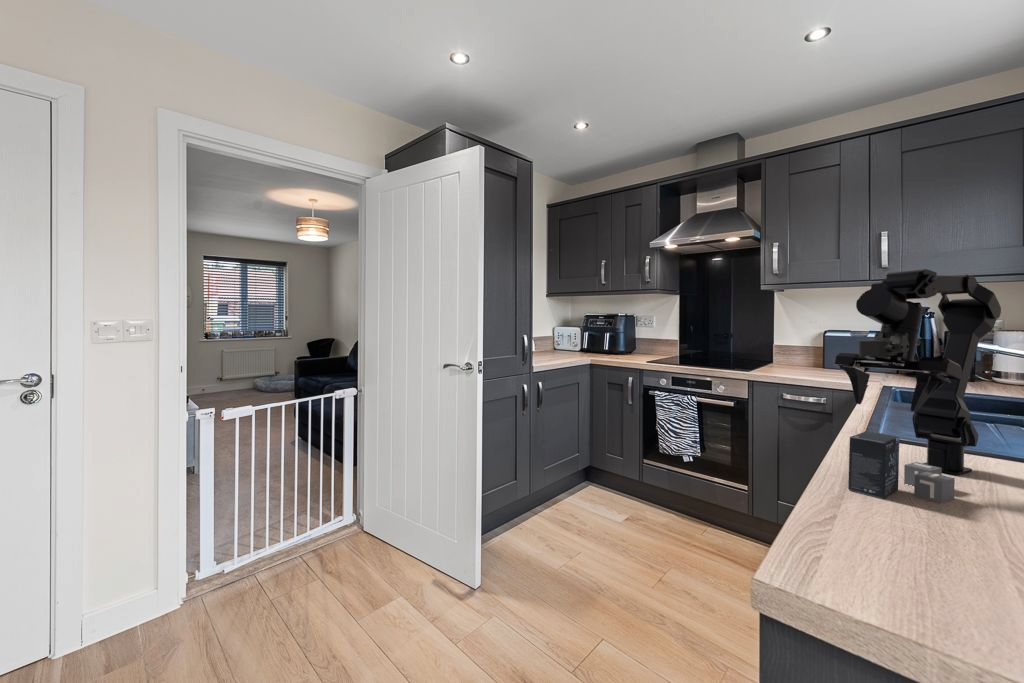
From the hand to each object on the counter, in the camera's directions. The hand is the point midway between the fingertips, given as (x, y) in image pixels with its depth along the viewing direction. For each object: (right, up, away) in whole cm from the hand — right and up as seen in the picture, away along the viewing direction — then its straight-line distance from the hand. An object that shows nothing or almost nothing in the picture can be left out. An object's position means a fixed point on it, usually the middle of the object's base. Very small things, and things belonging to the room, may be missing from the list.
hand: (884, 407), depth 86 cm
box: (-4, -16, -2) cm, 16 cm away
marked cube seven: (+4, -16, -6) cm, 17 cm away
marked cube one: (+8, -15, 0) cm, 17 cm away
